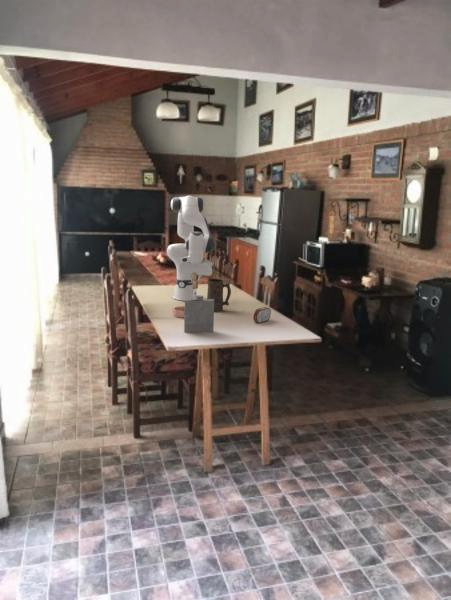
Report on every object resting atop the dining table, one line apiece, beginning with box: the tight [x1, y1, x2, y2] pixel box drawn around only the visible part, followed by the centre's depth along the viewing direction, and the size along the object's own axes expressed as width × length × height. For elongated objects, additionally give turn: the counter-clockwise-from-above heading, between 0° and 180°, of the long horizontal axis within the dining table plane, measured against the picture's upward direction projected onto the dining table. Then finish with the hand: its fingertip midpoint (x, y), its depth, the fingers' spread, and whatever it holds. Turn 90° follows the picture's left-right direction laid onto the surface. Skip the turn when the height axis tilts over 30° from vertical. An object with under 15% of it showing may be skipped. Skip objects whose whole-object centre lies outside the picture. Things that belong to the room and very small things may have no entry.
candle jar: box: [171, 305, 185, 319], centre depth 304 cm, size 13×13×4 cm
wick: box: [193, 273, 199, 290], centre depth 300 cm, size 4×2×10 cm, turn 165°
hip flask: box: [183, 294, 215, 334], centre depth 266 cm, size 16×4×20 cm, turn 103°
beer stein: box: [206, 278, 232, 313], centre depth 319 cm, size 15×11×20 cm
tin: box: [252, 306, 272, 324], centre depth 294 cm, size 15×3×8 cm, turn 141°
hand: (195, 281), depth 300 cm, fingers closed on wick, 2 cm apart
